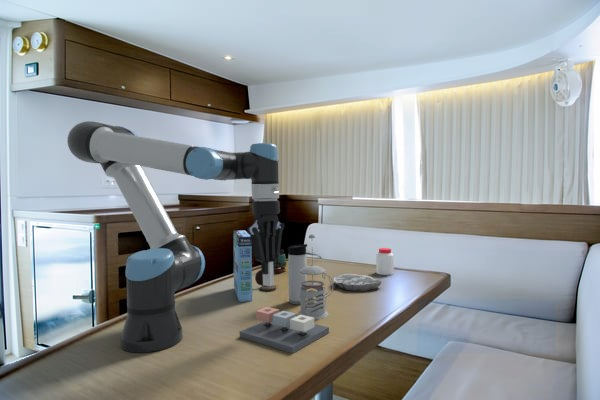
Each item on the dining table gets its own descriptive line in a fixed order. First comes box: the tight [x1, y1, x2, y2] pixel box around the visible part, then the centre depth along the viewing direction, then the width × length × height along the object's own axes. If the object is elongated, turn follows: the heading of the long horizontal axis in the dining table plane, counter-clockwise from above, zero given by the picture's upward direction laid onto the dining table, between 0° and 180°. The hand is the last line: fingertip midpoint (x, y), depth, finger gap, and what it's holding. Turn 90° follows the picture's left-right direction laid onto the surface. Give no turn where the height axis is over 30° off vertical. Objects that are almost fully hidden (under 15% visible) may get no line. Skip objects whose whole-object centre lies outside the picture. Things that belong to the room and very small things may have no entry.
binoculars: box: [273, 249, 287, 274], centre depth 182 cm, size 9×11×10 cm
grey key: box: [273, 310, 297, 330], centre depth 105 cm, size 4×4×4 cm
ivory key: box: [290, 315, 315, 335], centre depth 102 cm, size 4×4×4 cm
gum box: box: [232, 230, 253, 303], centre depth 145 cm, size 20×5×23 cm, turn 14°
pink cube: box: [255, 306, 280, 325], centre depth 109 cm, size 4×4×4 cm
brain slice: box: [332, 273, 382, 292], centre depth 155 cm, size 20×17×3 cm
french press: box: [296, 234, 334, 320], centre depth 122 cm, size 10×12×25 cm
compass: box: [254, 269, 279, 292], centre depth 153 cm, size 8×8×7 cm
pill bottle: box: [375, 247, 395, 276], centre depth 177 cm, size 8×8×11 cm
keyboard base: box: [239, 321, 330, 354], centre depth 105 cm, size 16×18×2 cm
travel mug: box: [287, 243, 308, 305], centre depth 135 cm, size 6×7×20 cm
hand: (268, 285), depth 108 cm, fingers closed
